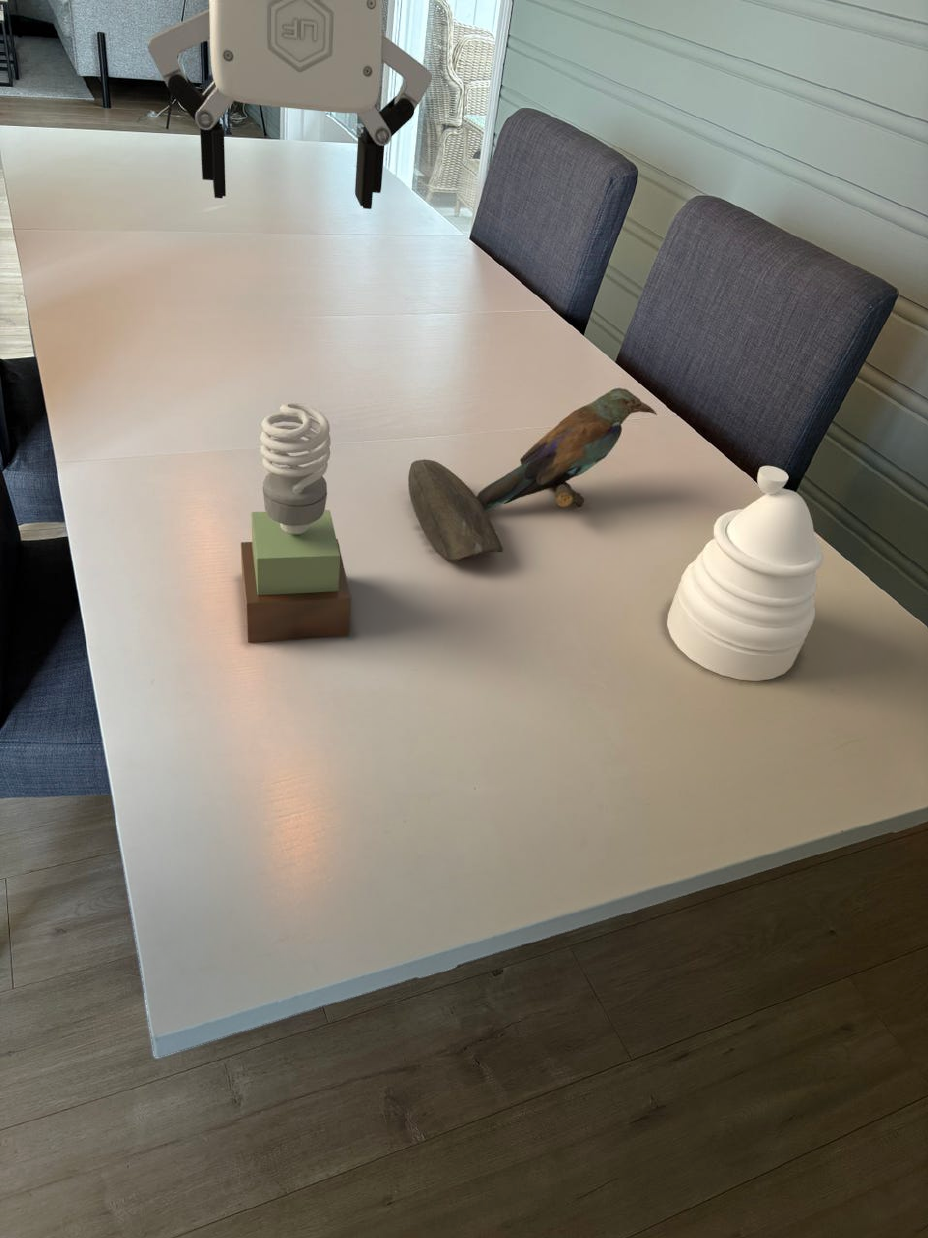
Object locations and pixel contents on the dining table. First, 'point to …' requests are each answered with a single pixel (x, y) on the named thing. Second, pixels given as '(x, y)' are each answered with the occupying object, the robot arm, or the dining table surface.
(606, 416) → the bird figurine
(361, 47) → the robot arm
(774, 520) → the honey pot
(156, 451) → the dining table surface
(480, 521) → the decorative stone
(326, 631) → the base block
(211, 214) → the dining table surface
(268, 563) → the top block
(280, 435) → the light bulb
